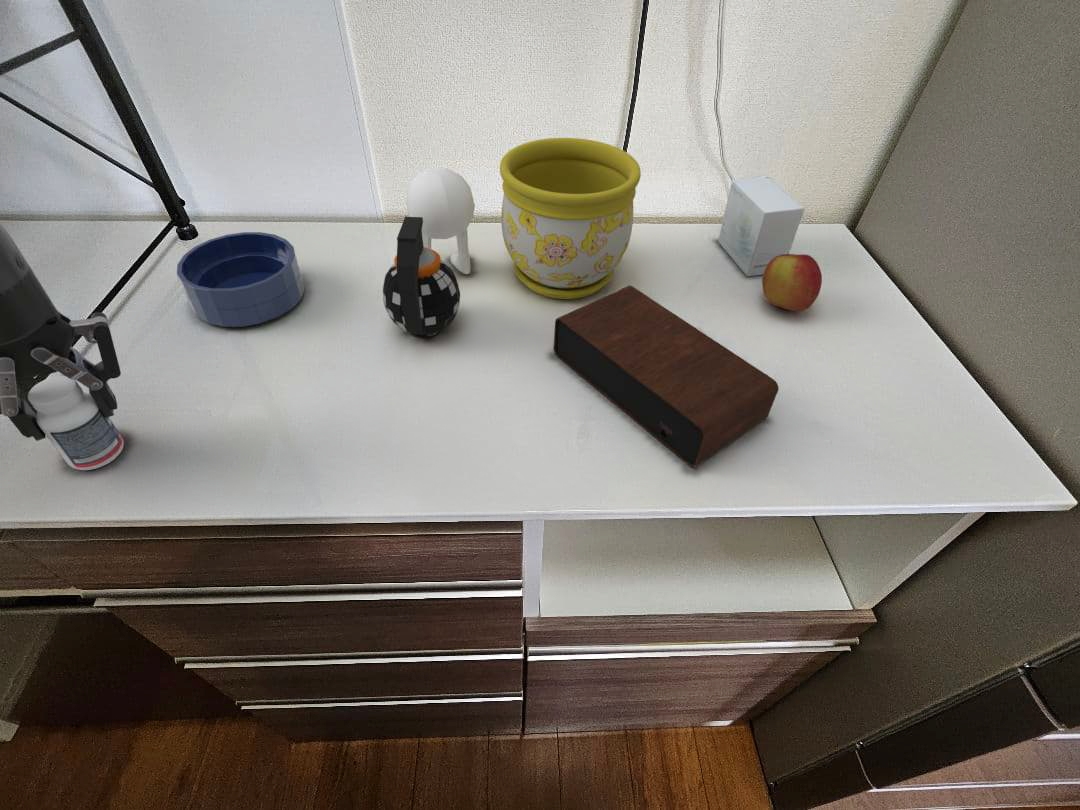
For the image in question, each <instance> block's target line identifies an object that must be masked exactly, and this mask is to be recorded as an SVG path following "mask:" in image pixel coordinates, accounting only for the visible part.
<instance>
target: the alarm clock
mask: <svg viewBox="0 0 1080 810" xmlns="http://www.w3.org/2000/svg"><path fill="white" fill-rule="evenodd" d="M553 353H554V354H555V356H556V357H557V358H558V359H559V360H561V362H563V363H564V364H565V365H566V366H567V367H569V368H570V369H571V370H572V371H574V372H575V373H576V374H577V375H578V376H579V377H581V378H582V379H583V380H584V381H586V382H587V383H588V384H590V385H591V386H592V387H593V388H594V389H596V390H597V391H598V392H599V393H600V394H601V395H603V396H604V397H605V398H606V399H608V400H609V401H610V402H611V403H613V405H614V406H616V407H617V408H618V409H620V410H621V411H622V412H623V413H624V414H625V415H627V416H628V417H629V418H631V419H632V420H633V421H634V422H636V424H638V425H639V426H640V427H641V428H642V429H644V430H645V431H646V432H648V434H650V435H651V436H652V437H653V438H655V439H656V440H657V441H658V442H659V443H661V444H662V445H663V446H664V447H665V448H667V449H668V450H669V451H671V453H673V454H674V455H675V456H676V457H678V458H679V459H680V460H681V461H682V462H684V463H685V464H686V465H687V466H689V467H690V468H696V467H698V466H699V465H700V464H701V463H703V462H704V461H706V460H708V459H709V458H710V457H711V456H713V455H715V454H717V452H720V451H721V450H722V449H723V448H725V447H726V446H728V445H730V444H731V443H732V442H734V441H736V440H737V439H738V438H740V437H741V436H742V435H744V434H745V433H747V432H748V431H750V430H752V429H753V428H755V427H756V426H757V425H759V424H760V423H762V422H763V421H765V420H766V419H767V418H768V417H769V414H770V412H771V409H772V407H773V405H774V402H775V400H776V397H777V395H778V392H779V388H780V387H779V385H778V383H777V381H776V380H775V379H774V378H772V377H771V376H769V375H768V374H767V373H765V372H764V371H762V370H760V369H759V368H757V367H756V366H754V365H753V364H751V363H750V362H748V361H747V360H745V359H743V358H742V357H740V356H739V355H737V354H736V353H735V352H733V351H732V350H730V349H728V348H727V347H726V346H724V345H723V344H721V343H719V342H718V341H716V340H715V339H713V338H712V337H710V336H709V335H707V334H705V333H704V332H702V331H701V330H699V329H698V328H697V327H695V326H693V325H692V324H691V323H689V322H687V321H686V320H685V319H683V318H681V317H680V316H679V315H677V314H675V313H674V312H672V311H671V310H669V309H668V308H666V307H665V306H663V305H662V304H660V303H659V302H657V301H656V300H654V299H652V298H651V297H650V296H648V295H646V294H645V293H643V292H642V291H641V290H638V289H637V288H636V287H634V286H633V285H626V286H625V287H622V288H621V289H618V290H616V291H614V292H612V293H610V294H607V295H605V296H602V297H600V298H599V299H596V300H593V301H592V302H590V303H587V304H585V305H583V306H581V307H579V308H576V309H574V310H572V311H570V312H567V313H566V314H564V315H561V316H559V317H557V318H555V321H554V336H553Z"/></svg>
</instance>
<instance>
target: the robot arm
mask: <svg viewBox="0 0 1080 810" xmlns="http://www.w3.org/2000/svg"><path fill="white" fill-rule="evenodd" d="M108 321H109V320H108V317H107V315H106V314H105V313H104V312H102V311H95V312H93V313H92V314H91V315H90V318H83V319H75V320H71V319H70V318H69V317H67V316H66V315H64V314H62V313H61V312H60V311H59V310H58V309H57V308H56V306H55V304H54V303H53V301H52V300H51V298H50V296H49V295H48V293H47V292H46V290H45V288H44V287H43V286H42V283H41V281H40V280H39V279H38V277H37V276H36V274H35V272H34V271H33V269H32V268H31V266H30V264H29V263H28V261H27V260H26V258H25V256H24V254H23V253H22V252H21V250H20V249H19V247H18V245H17V244H16V242H15V241H14V238H12V236H11V235H10V233H9V232H8V230H7V229H6V228H5V226H3V224H2V223H1V222H0V415H2V416H4V417H7V418H8V419H9V420H10V421H11V423H12V424H13V426H15V428H16V429H17V430H18V431H19V433H20V435H22V436H23V437H25V438H27V439H29V438H33V439H34V440H35V441H36V442H38V441H41V440H44V439H46V437H47V436H46V435H45V433H44V432H43V431H42V430H41V428H40V427H39V426H38V424H37V422H36V414H37V413H35V412H34V410H33V409H32V407H31V406H30V405H29V403H28V402H27V401H26V399H25V398H21V399H20V398H19V396H18V388H17V387H18V386H17V382H18V383H19V384H21V383H24V382H27V381H30V380H32V379H34V378H36V377H38V376H44V375H51V374H55V373H60V374H61V375H62V376H66V377H68V378H69V379H71V380H73V379H75V380H76V382H77V383H78V382H79V383H80V384H82V385H83V386H84V387H86V388H88V393H90V394H91V396H92V397H93V399H94V400H95V402H96V403H97V405H98V406H99V408H100V409H101V411H102V413H103V414H104V416H105V417H106V418H107V417H109V418H110V417H113V416H115V412H114V410H117V409H118V402H117V398H116V394H115V393H114V391H113V390H112V388H111V386H110V385H109V384H108V381H109V380H111V379H117V378H119V377H120V376H121V374H122V371H121V368H120V363H119V360H118V356H117V351H116V348H115V343H114V341H113V336H112V333H111V329H110V326H109V325H110V324H109V322H108ZM75 335H79V336H82V337H84V339H85V341H86V342H88V343H90V344H92V345H96V344H97V348H98V352H99V355H100V358H101V361H99V362H97V363H96V364H94V363H93V362H91V361H90V360H88V359H87V358H85V357H84V356H83V355H82V353H81V352H80V351H78V349H75V348H74V347H73V346H72V345H73V342H74V339H75Z"/></svg>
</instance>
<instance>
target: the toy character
mask: <svg viewBox="0 0 1080 810" xmlns="http://www.w3.org/2000/svg"><path fill="white" fill-rule="evenodd" d="M405 198H406V199H405V206H406V211H407V214H408V217H423V225H422V238H423V247H425V248H429V249H432V239H433V240H448V239H451V238H454V237H455V239H456V244H457V252H455V253H452V255H451V256H450V262H451V264H452V265H453V266H454V267H455V268H456V269H457V270H458V271H459V272H461V273H462V274H464V275H468V274H470V273H471V258H470V251H469V250H470V249H469V238H468V227H469V226H470V223H471V222H472V220H473V219H474V214H475V207H476V205H475V200H474V195H473V192H472V188H471V185H470V184H469V183H468V182H467V180H466V179H465V177H464V176H463V175H461V174H460V173H457V172H456V171H454V170H451V169H449V168H448V167H447V168H445V167H432V168H429V169H426V170H423V171H421V172H420V173H418V174H417V175H416V176H415V177H414V178H413V179H412V180H411V182H410V184H409V185H408V187H407V189H406V197H405Z"/></svg>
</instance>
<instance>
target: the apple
mask: <svg viewBox="0 0 1080 810" xmlns="http://www.w3.org/2000/svg"><path fill="white" fill-rule="evenodd" d="M761 284H762V294H763V296H764V298H765V300H766V301H767V302H768V303H769V304H770V305H772V306H776V307H780V308H782V309H785V310H789V311H794V312H798V313H799V312H804V311H805V310H808V309H809V308H810V307H812V305H813V304H814V303H815V301H816V300H817V298H818V296H819V295H820V293H821V289H822V284H823V275H822V270H821V268H820V265H819V264H818V262H817V260H816V259H815V258H814V257H813V256H811V255H808V254H795V253H789V254H782V255H779V256H776V257H775V258H773V259H772V260H771V261H770V262H769V263H768V265H767V267H766V269H765V271H764V274H762V279H761Z"/></svg>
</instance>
